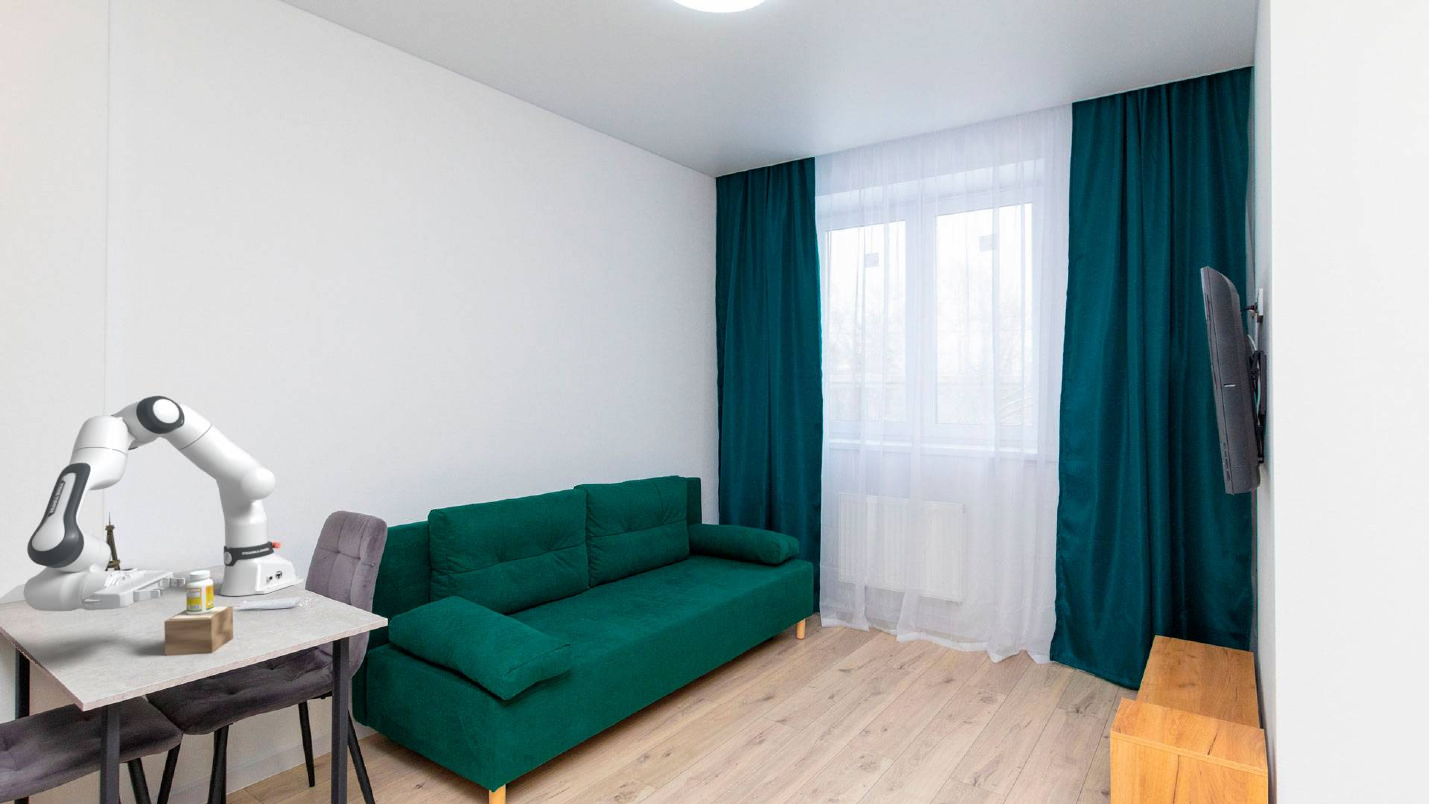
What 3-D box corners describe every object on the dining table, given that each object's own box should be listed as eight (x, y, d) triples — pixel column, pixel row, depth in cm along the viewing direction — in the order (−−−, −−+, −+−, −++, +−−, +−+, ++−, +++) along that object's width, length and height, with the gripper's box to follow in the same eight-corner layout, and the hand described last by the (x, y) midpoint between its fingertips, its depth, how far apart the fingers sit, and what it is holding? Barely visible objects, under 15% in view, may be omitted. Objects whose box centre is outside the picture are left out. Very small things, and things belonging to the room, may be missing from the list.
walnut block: (189, 640, 181) (188, 607, 181) (233, 638, 183) (232, 605, 182) (165, 655, 171) (164, 620, 171) (211, 653, 173) (211, 618, 172)
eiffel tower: (84, 602, 213) (82, 516, 212) (93, 593, 222) (90, 510, 221) (130, 596, 218) (128, 513, 218) (137, 588, 227) (135, 507, 227)
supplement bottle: (190, 616, 173) (189, 576, 173) (183, 612, 177) (182, 572, 177) (217, 611, 177) (216, 571, 177) (209, 606, 181) (209, 568, 181)
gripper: (76, 589, 163) (145, 586, 165) (134, 566, 183) (195, 564, 185) (77, 617, 163) (146, 614, 165) (134, 591, 183) (195, 589, 186)
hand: (172, 587), depth 176 cm, fingers open, 8 cm apart
